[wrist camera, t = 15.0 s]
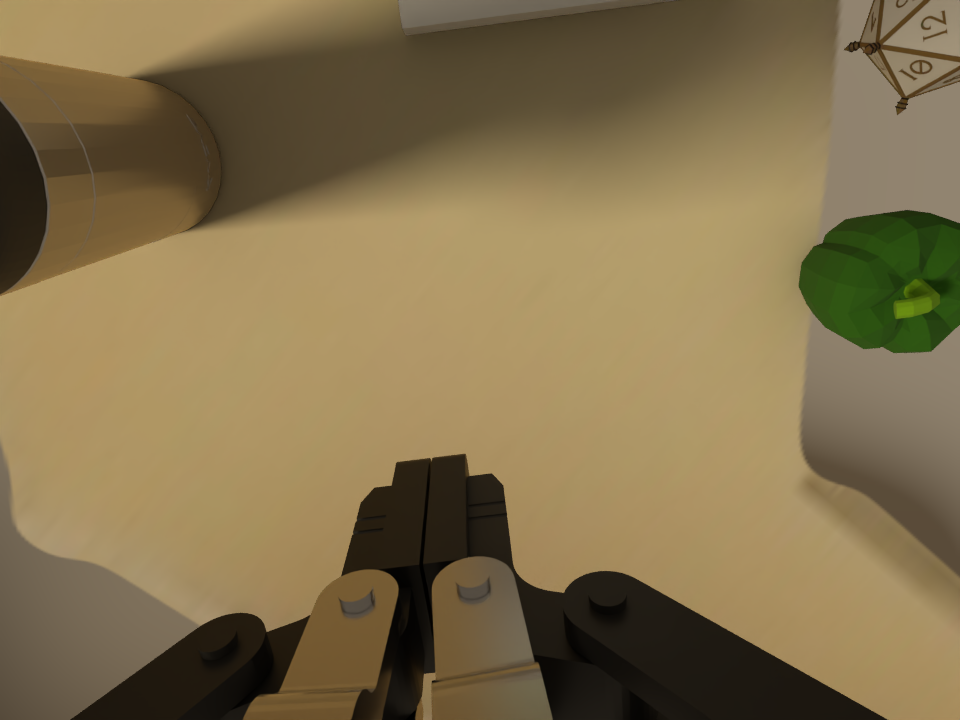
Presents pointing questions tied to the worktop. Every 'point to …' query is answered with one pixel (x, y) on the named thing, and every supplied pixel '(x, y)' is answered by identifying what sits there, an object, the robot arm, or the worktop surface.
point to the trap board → (493, 11)
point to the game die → (913, 44)
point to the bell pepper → (887, 280)
